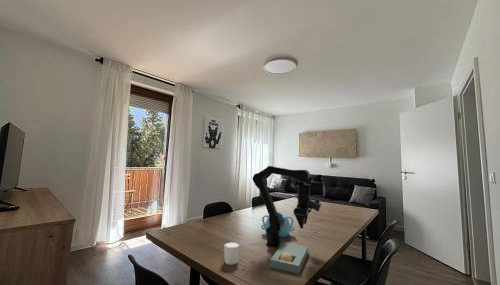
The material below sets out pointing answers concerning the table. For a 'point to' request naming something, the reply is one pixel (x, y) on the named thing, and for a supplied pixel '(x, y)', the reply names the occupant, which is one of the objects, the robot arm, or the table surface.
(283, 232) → the decorative pot
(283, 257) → the ball
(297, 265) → the deck
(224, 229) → the table surface
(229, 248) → the white cylinder
